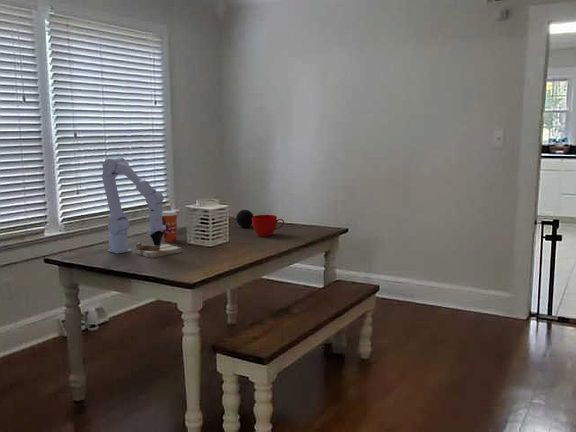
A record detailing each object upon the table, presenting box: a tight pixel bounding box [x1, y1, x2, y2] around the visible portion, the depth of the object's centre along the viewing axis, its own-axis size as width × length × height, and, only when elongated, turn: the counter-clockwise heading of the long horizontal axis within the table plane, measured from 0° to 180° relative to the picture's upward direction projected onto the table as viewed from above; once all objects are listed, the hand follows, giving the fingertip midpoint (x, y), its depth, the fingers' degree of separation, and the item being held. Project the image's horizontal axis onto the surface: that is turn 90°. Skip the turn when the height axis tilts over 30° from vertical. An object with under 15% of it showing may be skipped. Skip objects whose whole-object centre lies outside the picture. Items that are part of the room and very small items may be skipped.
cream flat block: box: [134, 243, 182, 259], centre depth 279 cm, size 14×16×2 cm
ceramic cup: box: [252, 214, 285, 237], centre depth 315 cm, size 13×17×10 cm
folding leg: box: [135, 242, 161, 250], centre depth 276 cm, size 11×2×3 cm, turn 73°
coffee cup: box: [162, 210, 178, 243], centre depth 305 cm, size 8×8×15 cm
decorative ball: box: [235, 209, 254, 228], centre depth 340 cm, size 10×10×10 cm
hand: (157, 247), depth 277 cm, fingers closed
